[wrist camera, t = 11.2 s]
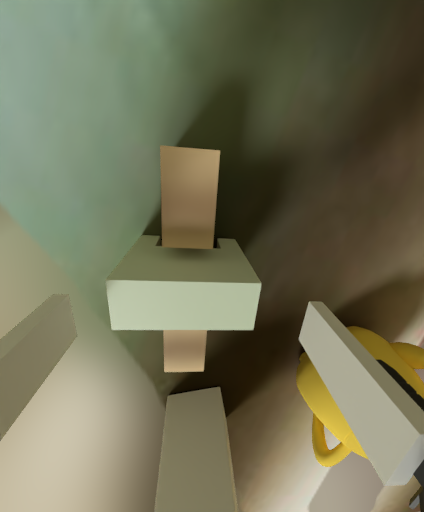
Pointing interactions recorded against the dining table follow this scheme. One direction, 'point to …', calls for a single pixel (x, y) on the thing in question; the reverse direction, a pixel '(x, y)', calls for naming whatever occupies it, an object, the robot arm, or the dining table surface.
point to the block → (183, 288)
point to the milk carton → (196, 455)
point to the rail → (187, 233)
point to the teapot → (325, 407)
